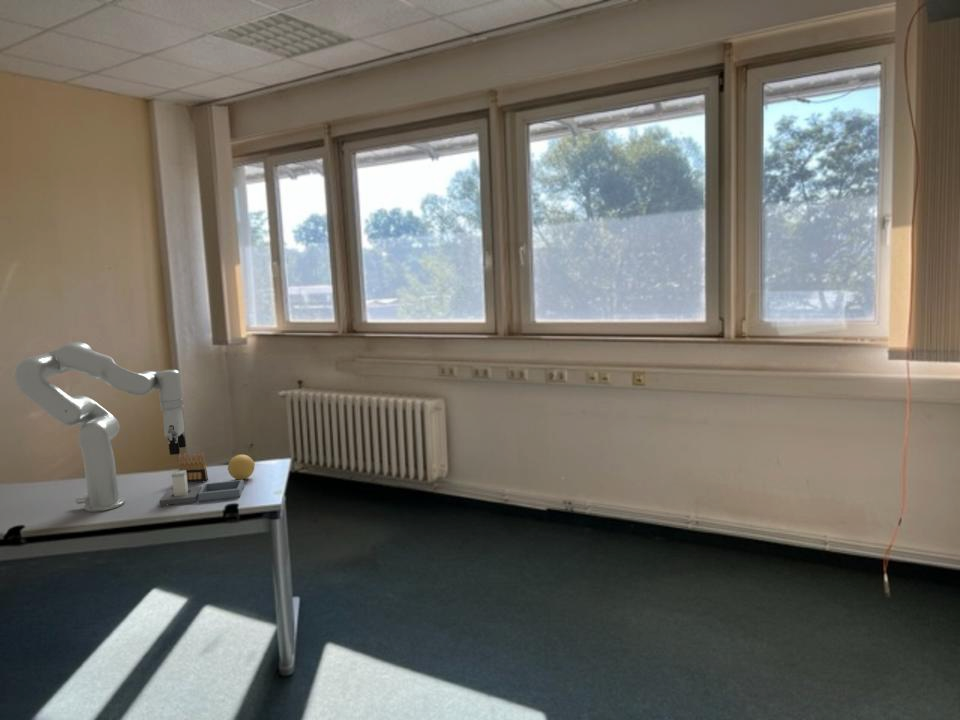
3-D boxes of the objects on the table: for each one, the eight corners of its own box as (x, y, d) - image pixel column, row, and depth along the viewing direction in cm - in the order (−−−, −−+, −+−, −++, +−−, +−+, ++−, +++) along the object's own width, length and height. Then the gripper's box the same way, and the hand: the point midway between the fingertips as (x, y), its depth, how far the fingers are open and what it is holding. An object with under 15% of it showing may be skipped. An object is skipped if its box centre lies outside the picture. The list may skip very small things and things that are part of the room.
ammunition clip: (208, 480, 260) (205, 451, 258) (206, 481, 258) (203, 452, 256) (181, 481, 260) (178, 452, 258) (179, 483, 258) (176, 453, 256)
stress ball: (250, 484, 255) (264, 463, 261) (231, 470, 250) (246, 448, 256) (236, 484, 261) (250, 463, 267) (218, 470, 256) (232, 449, 262)
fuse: (174, 501, 236) (171, 474, 235) (177, 497, 240) (174, 471, 239) (186, 499, 237) (183, 473, 236) (189, 496, 241) (186, 470, 240)
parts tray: (198, 501, 234) (198, 493, 234) (205, 491, 246) (204, 483, 245) (240, 497, 237) (239, 489, 237) (244, 487, 249) (243, 479, 248)
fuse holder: (159, 506, 231) (159, 500, 231) (168, 495, 243) (167, 490, 243) (195, 502, 234) (195, 496, 234) (202, 491, 246) (201, 486, 245)
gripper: (166, 401, 242) (172, 446, 244) (154, 410, 225) (160, 458, 227) (188, 399, 243) (194, 443, 245) (177, 407, 226) (183, 455, 229)
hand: (178, 450), depth 236 cm, fingers open, 9 cm apart
